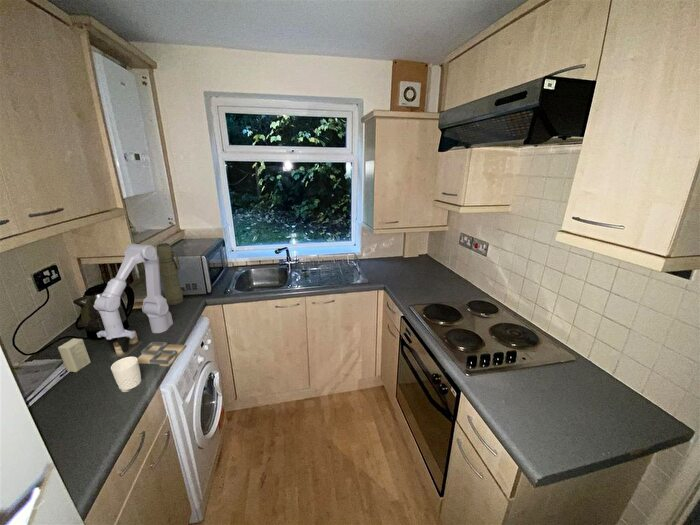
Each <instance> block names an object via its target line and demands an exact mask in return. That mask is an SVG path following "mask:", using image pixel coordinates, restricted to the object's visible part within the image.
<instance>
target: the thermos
mask: <svg viewBox="0 0 700 525" xmlns="http://www.w3.org/2000/svg"><path fill="white" fill-rule="evenodd" d="M155 248H156V249H157V256H158V258H159V270H160V278H161V280H162V281H161V282H162V284H163V289H164V298H165V299H166V301H167V304H168V306H176V305H179V304H182V303H183V302H184V296H183V295H184V294H183V290H182V288H181V285H180V280H179V274H178V273H179V270H180V261H179V257H178V253H177V252H176V251H173V248H172V246H171V244H170V243H167V242H163V243H159V244H157V245H156V247H155ZM174 256H175V257H174Z"/></svg>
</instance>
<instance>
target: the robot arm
mask: <svg viewBox="0 0 700 525" xmlns="http://www.w3.org/2000/svg"><path fill="white" fill-rule="evenodd" d="M156 248H157V247H155V246H153V245H152V244H141V243H140V244H139V243H129V244H128V246H127V247H126V250H124V252H123V254H124V258H123V260H122V262H121V265H120V267H119V269H118V272H117V274H116V275H115V277H113V278H111V279H109V281H107V283H106V284H107V285H106V287H105V288H104V290H103V292H102V294H101V296H99V297H97V298H96V299H95V301H94V304H93V308H94V309H95V310H97V311H98V313H99V314H100V315H99V316H100V318H101V321H102V324H103V327H104V330H100V331H98V332H96V335H97V338H102V337H104V339H103V340H102V342H103V343H104V344H106V345H107V346H108V347H109V348H110V350H112V352H113V353H116V351H115V348H114V345H113V343H114V342H115V341H117V343H118V344H119V345H120V346H121V349H122V351H123V353H126V352H127V351H128V350H129V341H130V338H133V337H134V336H135V332H131V331H132V330H127V329H125V328H124V325H123V320H122V318H121V315H120V311H119V307H120V306H121V296H122V295H123V293H124V290H125V289H126V287H127V282H126V280H127V278H128V277H129V275H130V274H131V272H132V271H133V269H134V268H135V266H136V265H138V264H140V263H143V264H144V270H145V271H144V272H145V273H144V274H145V285H146V297H145V298H144V299H143V300H142V301H143V302H142V306H141V310H142V312H143V314H146V316H147V317H148V321H149V326H150V329H151V332H152V333H153V334H161V333H163V332H166V331H168V330H169V328H170V327H171V326H172V325H174V323H173V317H172V313H171V312H170V311H169V305H168V304H167V301H166V299H165V296H163V295H162V290H161V289H162V288H161V276H160V270H159V258H158V256H157V249H156Z"/></svg>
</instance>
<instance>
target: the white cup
mask: <svg viewBox="0 0 700 525" xmlns="http://www.w3.org/2000/svg"><path fill="white" fill-rule="evenodd" d="M137 358H138V357H136V356H126V357H121V359H118V360H116V361H115V362H113V363H112V365H111V366H110V370H111V373H112V375H113V378H114V380H115V383H116V384H117V385H118V389H119V391H120V392H122V393H123V392H124V393H126V392H129V390H131V389H133V388H136V387H137V386H138V387H139V386H141V382H142V374H141V370H140V369H141V368H140V363H138V359H137Z"/></svg>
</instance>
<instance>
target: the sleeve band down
mask: <svg viewBox="0 0 700 525" xmlns="http://www.w3.org/2000/svg"><path fill="white" fill-rule="evenodd" d="M130 331H131V332H135V336H134V337H133V338H130V341H129V346H130V347H132V346H136V345H138V344H139V341H140V340H139V339H138V334H137V332H136V330H134V329H133V330H130Z"/></svg>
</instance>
